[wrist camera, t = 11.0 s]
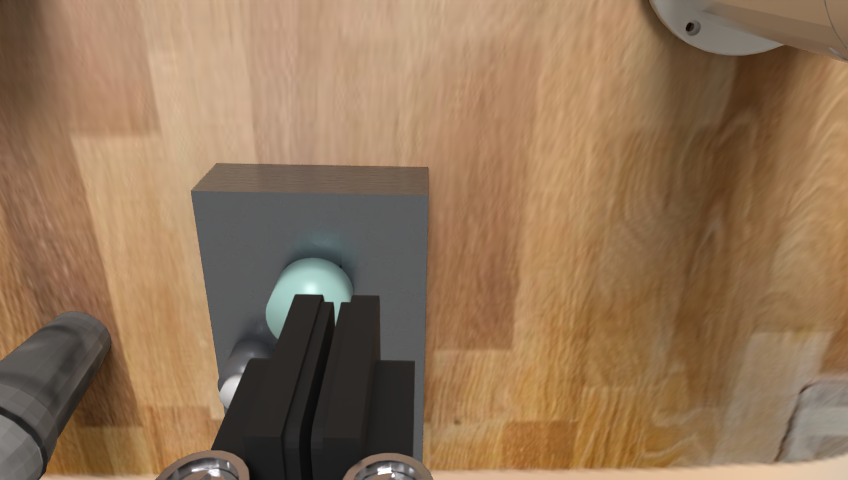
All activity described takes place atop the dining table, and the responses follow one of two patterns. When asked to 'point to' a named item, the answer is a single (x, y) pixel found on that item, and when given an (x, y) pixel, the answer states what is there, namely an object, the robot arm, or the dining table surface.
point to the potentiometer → (239, 367)
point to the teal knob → (307, 288)
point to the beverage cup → (46, 390)
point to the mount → (316, 248)
